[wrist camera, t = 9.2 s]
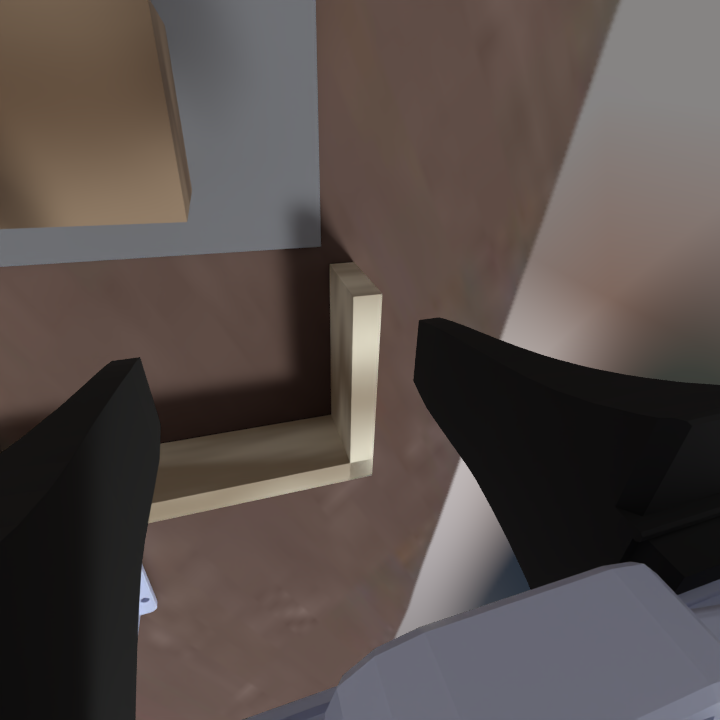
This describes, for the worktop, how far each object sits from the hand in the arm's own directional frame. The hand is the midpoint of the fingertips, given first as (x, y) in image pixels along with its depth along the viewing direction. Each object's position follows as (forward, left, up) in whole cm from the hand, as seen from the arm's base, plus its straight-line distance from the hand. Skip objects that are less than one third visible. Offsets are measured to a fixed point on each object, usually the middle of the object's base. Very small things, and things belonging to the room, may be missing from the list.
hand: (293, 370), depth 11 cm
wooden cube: (+6, +5, -9) cm, 11 cm away
